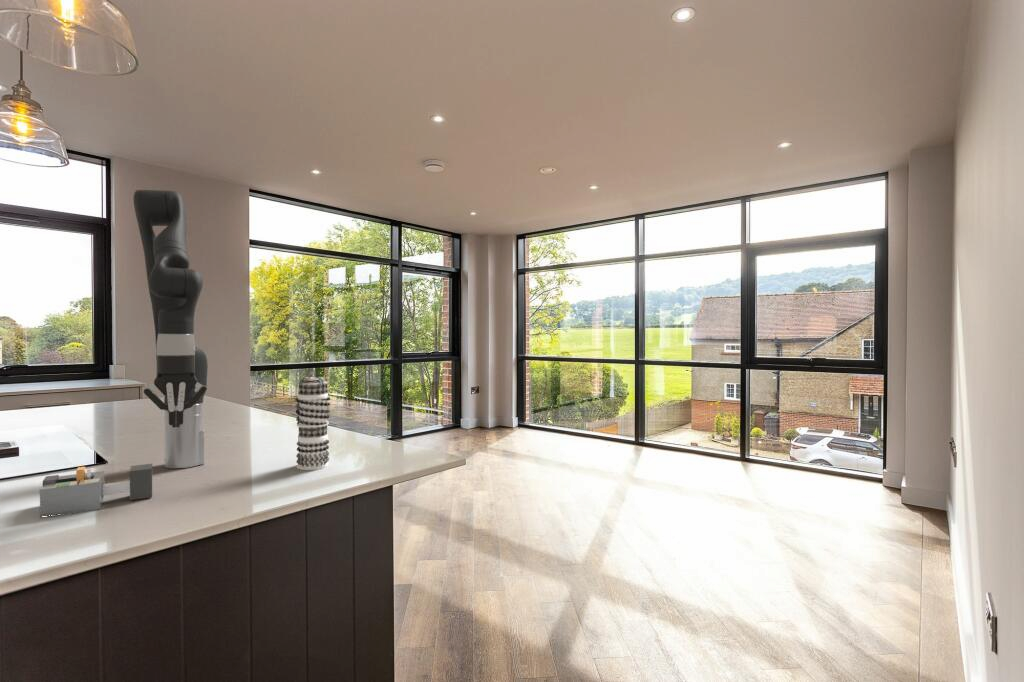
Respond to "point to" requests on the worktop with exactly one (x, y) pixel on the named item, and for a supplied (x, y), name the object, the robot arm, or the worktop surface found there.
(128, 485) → the dark cube on shaft
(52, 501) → the gauge housing
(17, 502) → the worktop surface
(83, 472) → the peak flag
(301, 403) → the decorative candle
